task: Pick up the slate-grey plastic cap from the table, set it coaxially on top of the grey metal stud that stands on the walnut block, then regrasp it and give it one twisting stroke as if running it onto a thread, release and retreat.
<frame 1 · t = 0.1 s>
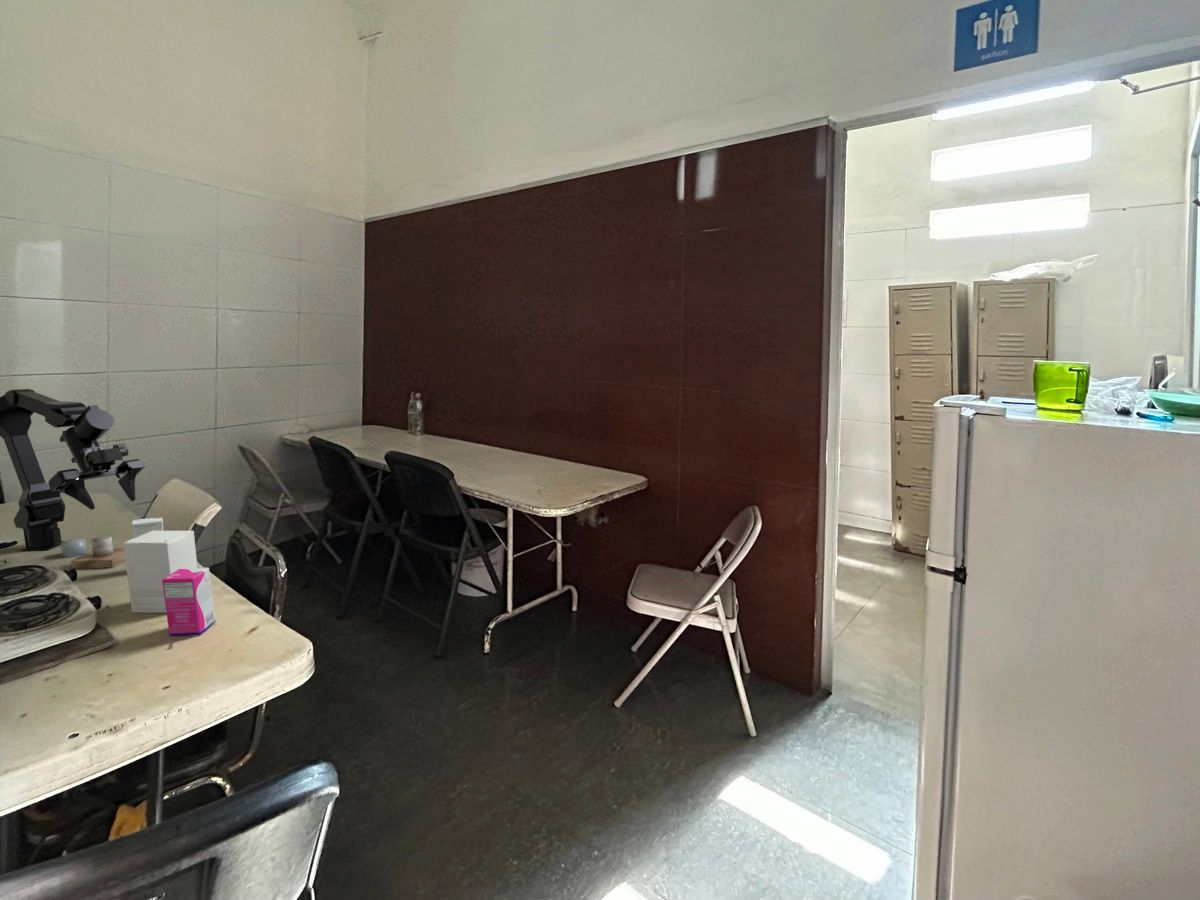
hand: (114, 504, 153), 15 cm above the table, tool tilted 30°, fingers open, 9 cm apart
supplement box: (192, 630, 120), on the table
skincare box: (151, 569, 152), on the table
supplement box 2: (167, 605, 131), on the table
cap: (75, 554, 161), on the table
threaded post: (104, 561, 156), on the table
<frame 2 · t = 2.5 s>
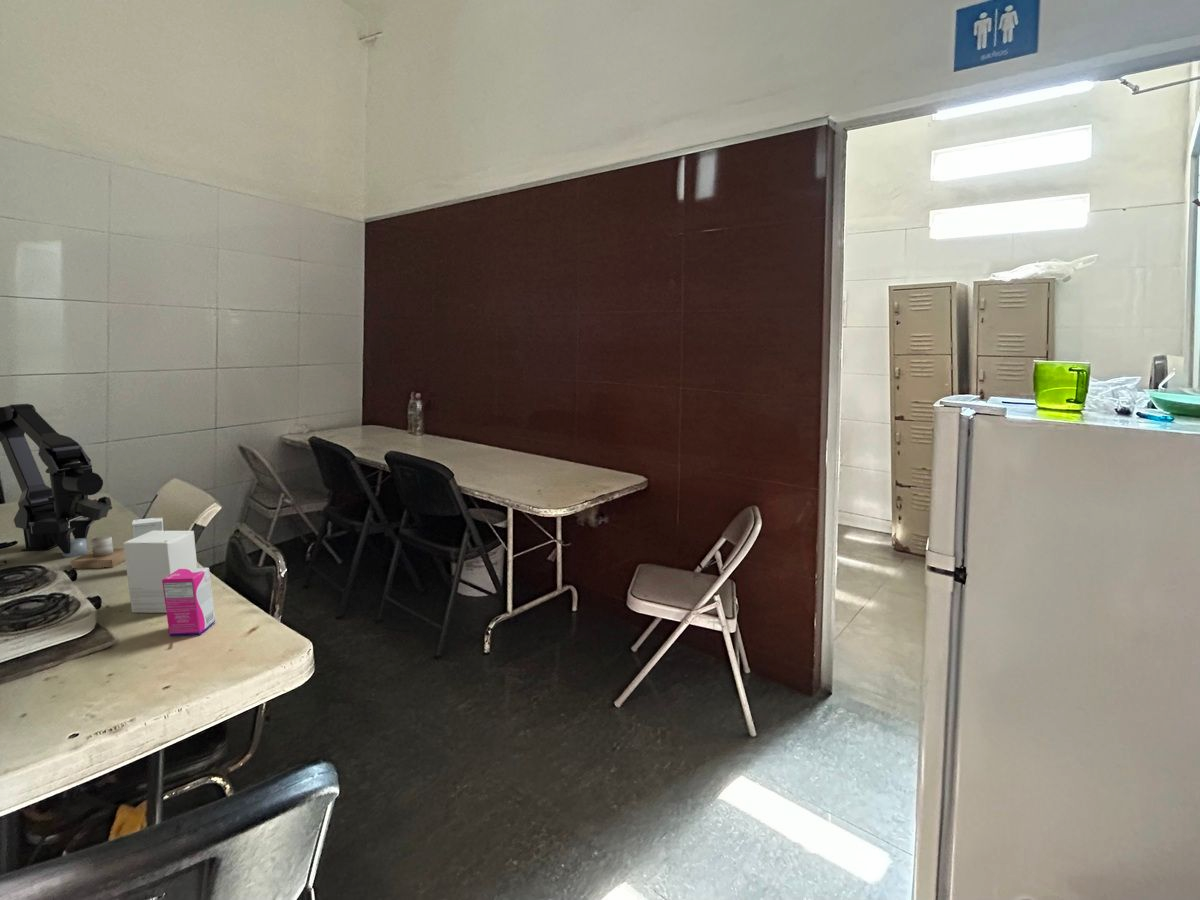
hand: (74, 550, 161), 1 cm above the table, tool pointing down, fingers closed on cap, 5 cm apart
cap: (75, 554, 161), on the table, touching gripper
everything else where it was.
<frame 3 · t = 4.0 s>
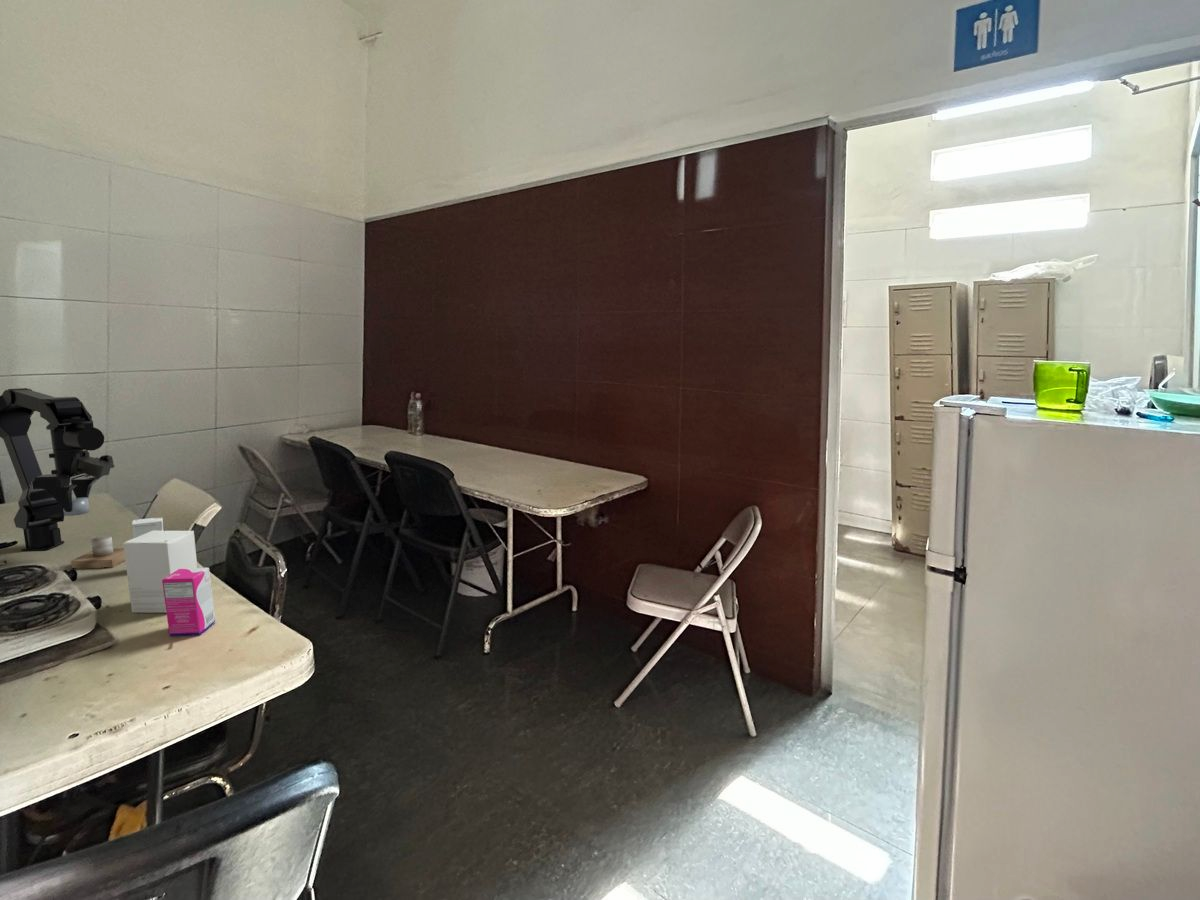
hand: (76, 509, 158), 12 cm above the table, tool pointing down, fingers closed on cap, 5 cm apart
cap: (76, 513, 158), point 11 cm above the table, touching gripper
everything else where it was.
when the fingers open (8 cm above the table, at t = 5.7 s): cap stays where it is, resting on threaded post.
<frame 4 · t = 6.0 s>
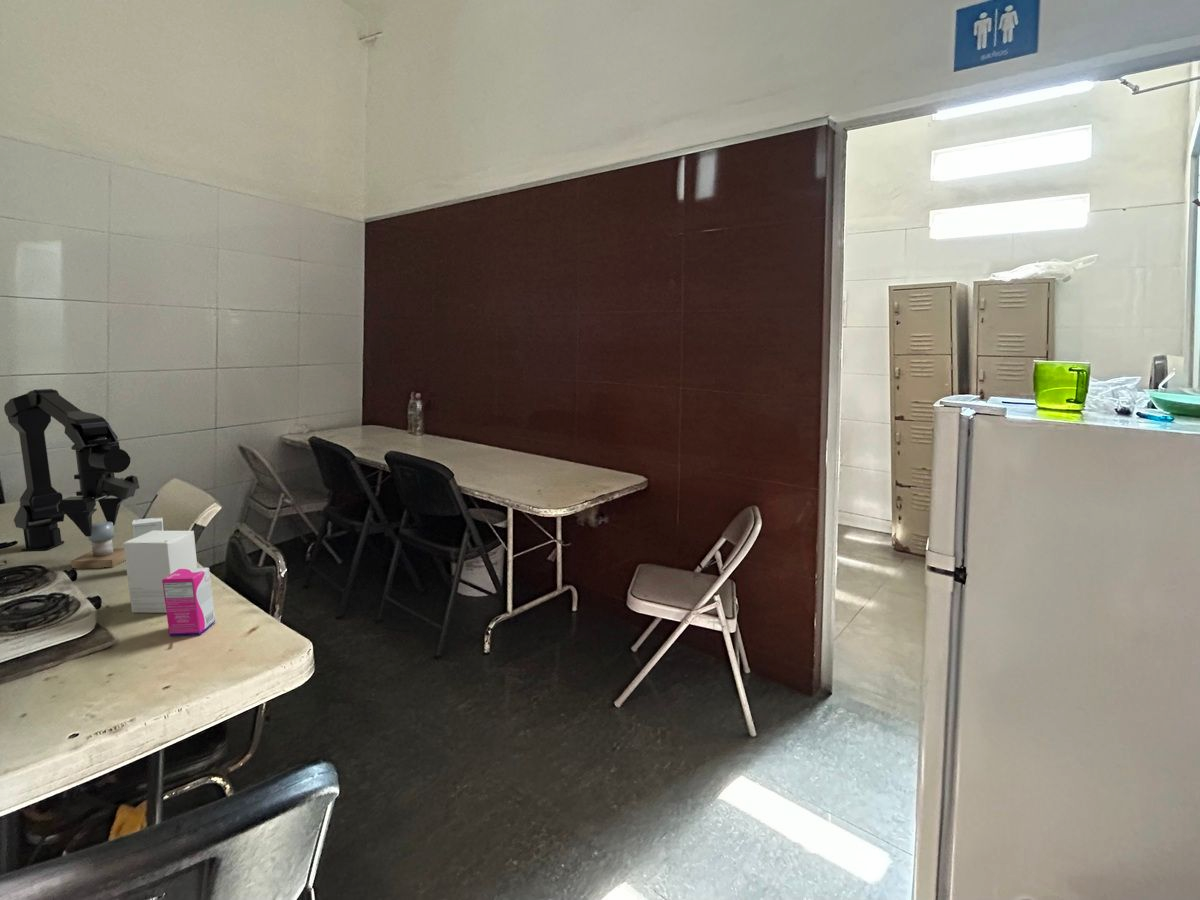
hand: (100, 530, 154), 8 cm above the table, tool pointing down, fingers open, 9 cm apart
cap: (101, 538, 155), point 6 cm above the table, touching threaded post
everything else where it was.
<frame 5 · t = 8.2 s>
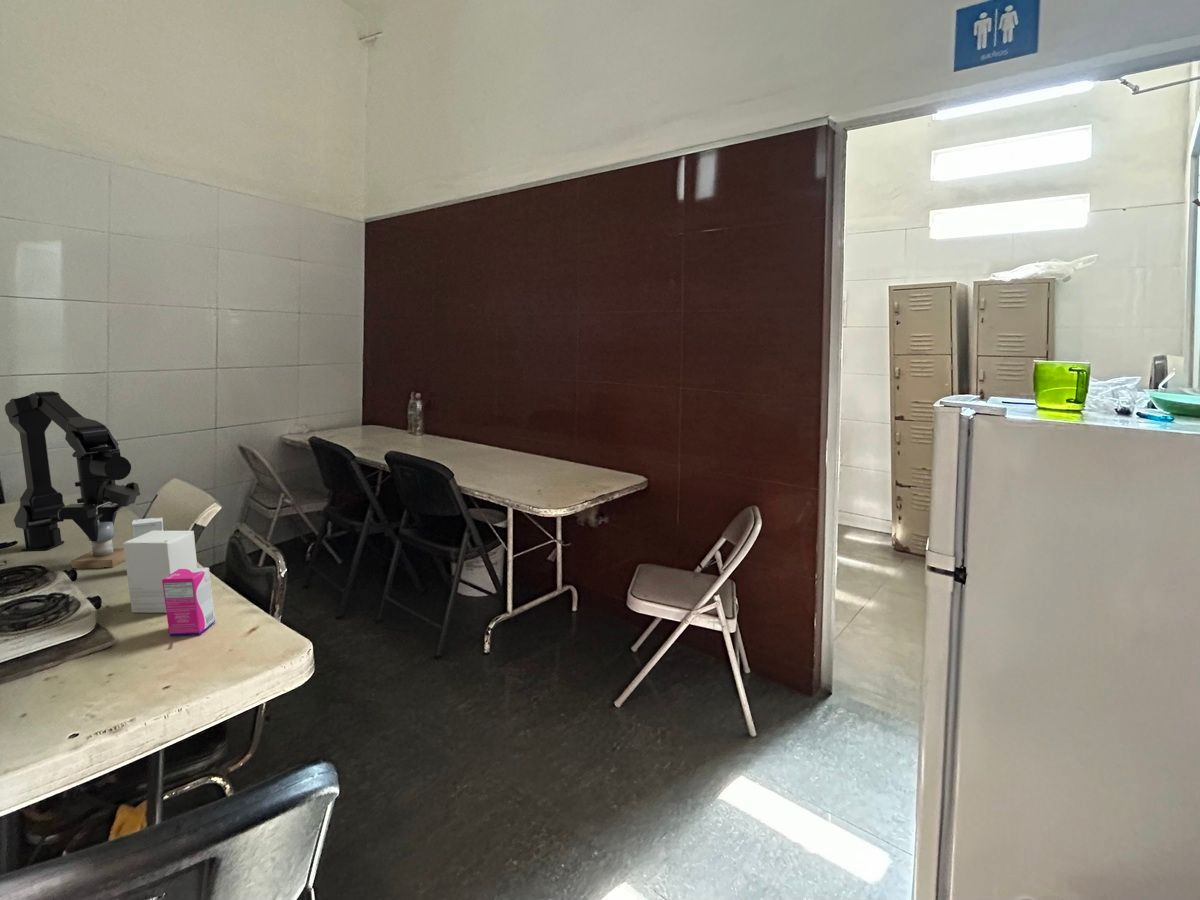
hand: (101, 537, 155), 6 cm above the table, tool pointing down, fingers closed on cap, 5 cm apart
cap: (101, 538, 155), point 6 cm above the table, touching gripper, threaded post
everything else where it was.
when the fingers open (6 cm above the table, at t = 9.9 s): cap stays where it is, resting on threaded post.
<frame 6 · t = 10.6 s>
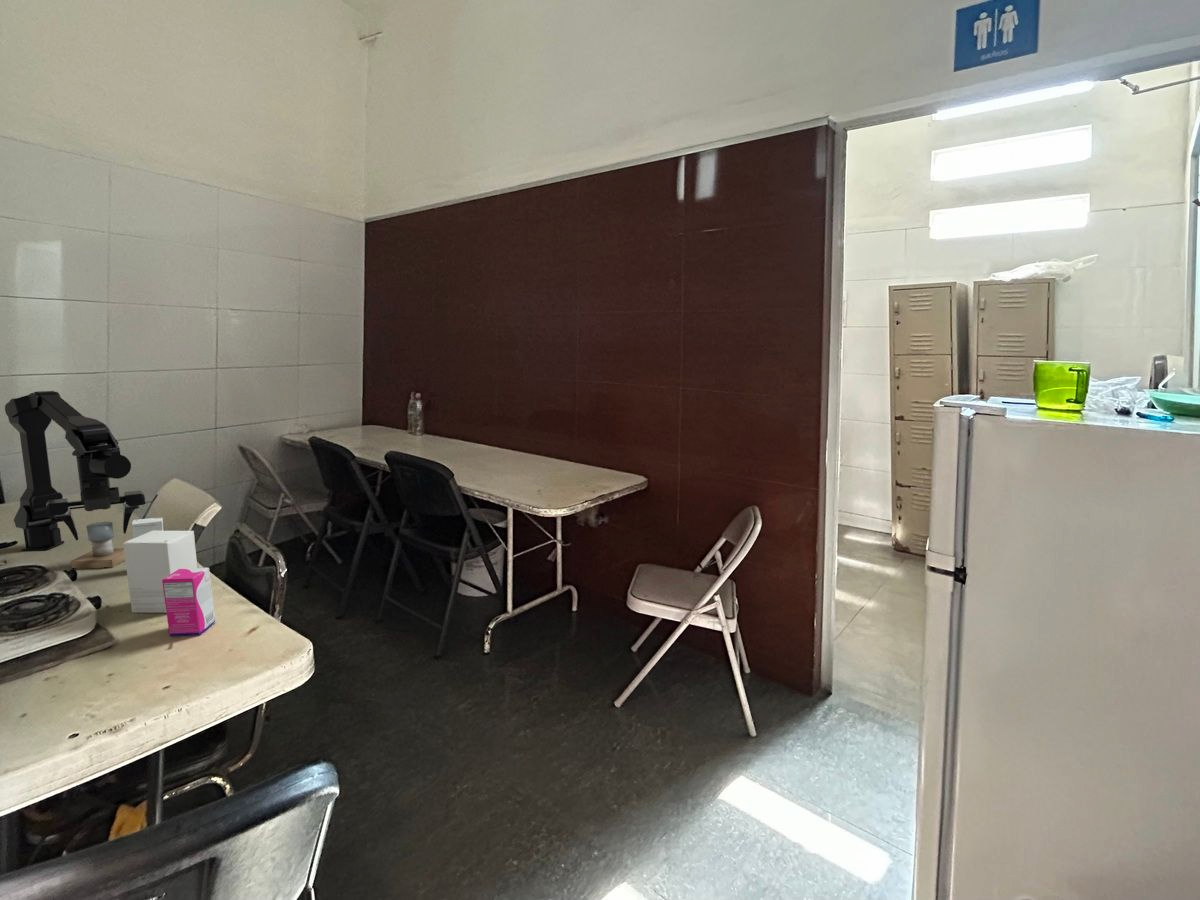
hand: (101, 536, 155), 7 cm above the table, tool pointing down, fingers open, 9 cm apart
cap: (101, 538, 155), point 6 cm above the table, touching threaded post
everything else where it was.
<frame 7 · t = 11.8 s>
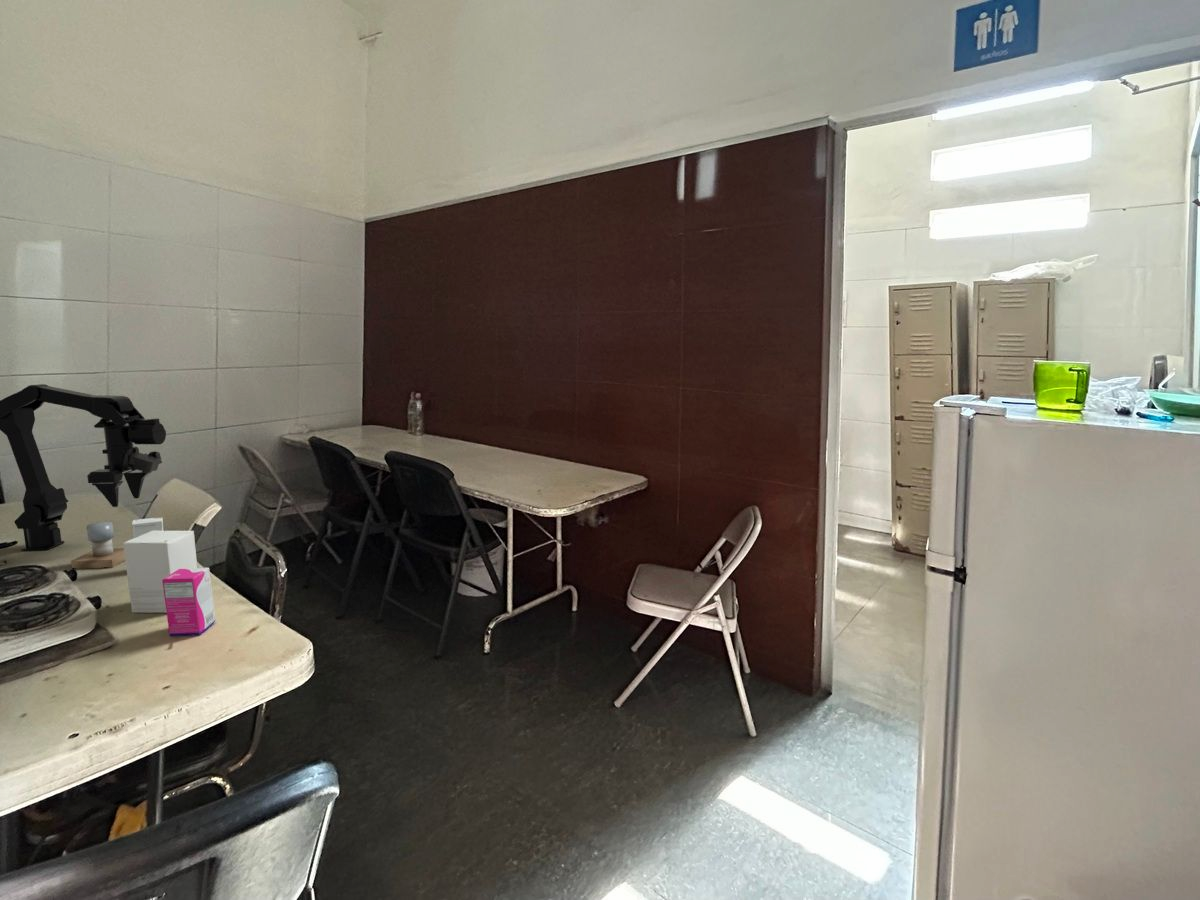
hand: (126, 502, 166), 12 cm above the table, tool pointing down, fingers open, 9 cm apart
nothing on the table moved.
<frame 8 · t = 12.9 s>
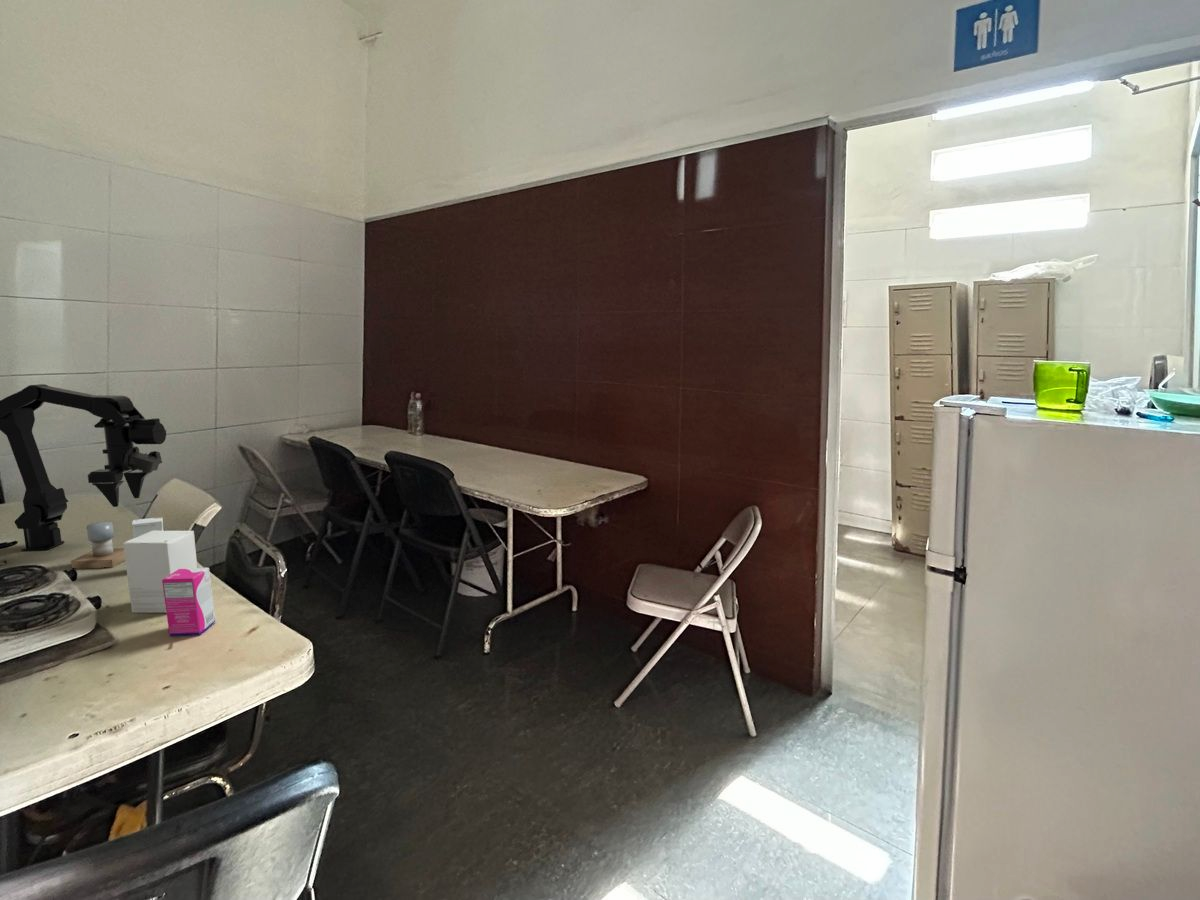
hand: (126, 502, 166), 12 cm above the table, tool pointing down, fingers open, 9 cm apart
nothing on the table moved.
at the end: cap 0.0 cm off-centre on the threaded post, point 6.1 cm above the threaded post's base; cap tilted 0°; the gripper is holding nothing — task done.
